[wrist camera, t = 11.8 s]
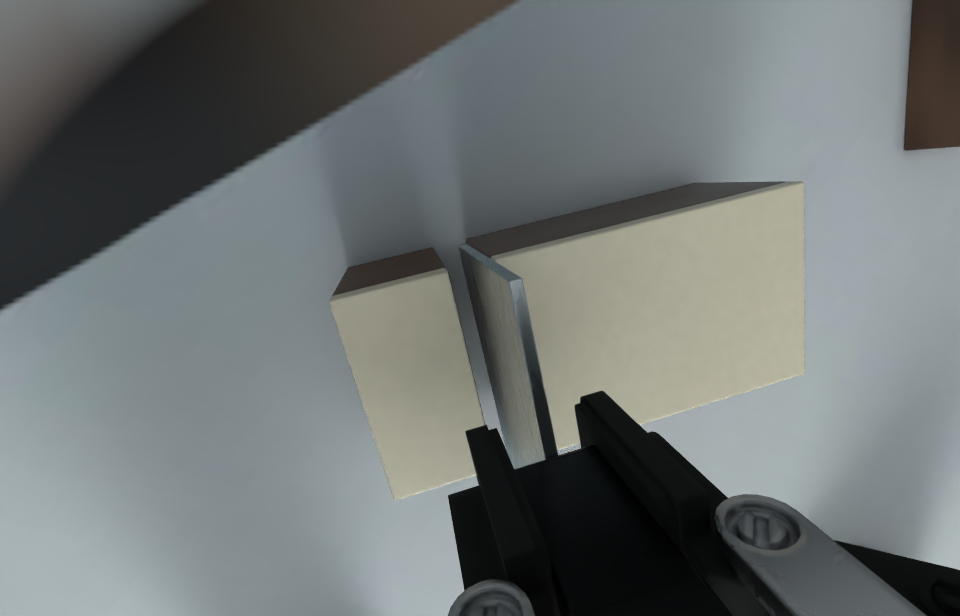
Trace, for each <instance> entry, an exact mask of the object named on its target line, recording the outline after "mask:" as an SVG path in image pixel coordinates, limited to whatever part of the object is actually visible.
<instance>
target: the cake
mask: <svg viewBox="0 0 960 616" xmlns="http://www.w3.org/2000/svg"><path fill="white" fill-rule="evenodd" d="M466 243H467V245H469V246H470V247H472V248H473V249H475V250H477V251H478V252H480V253H482V254H483V255H485V256H487V257H488V258H490V259H492V260H493V261H495V262H497V263H498V264H500V265H501V266H503V267H505V268H506V269H508V270H510V271H511V272H513V273H515V274H516V275H518V276H520V277H521V278H522V279H523V283H524V288H525V293H526V298H527V303H528V308H529V313H530V318H531V323H532V328H533V333H534V338H535V343H536V348H537V353H538V358H539V362H540V367H541V372H542V377H543V382H544V387H545V392H546V397H547V402H548V407H549V412H550V417H551V422H552V427H553V432H554V437H555V442H556V447H557V450H559V449H563V448H566V447H569V446H572V445H576V444H579V443H580V438H579V432H578V426H577V420H576V415H575V404H578V403H580V398H581V396H585V395H588V394H591V393H595V392H598V391H604V392H605V393H606V394H607V395H608V396H609V397H611V398H612V399H613V400H614V401H615V402H616V403H617V404H618V405H619V406H620V407H621V408H622V409H623V410H624V411H625V412H626V413H627V414H628V415H629V416H630V417H631V418H632V419H633V420H634V421H635V422H636V423H638V424H639V425H640V424H644V423H647V422H650V421H653V420H657V419H660V418H663V417H666V416H670V415H673V414H676V413H679V412H683V411H686V410H689V409H692V408H696V407H699V406H702V405H705V404H709V403H712V402H715V401H718V400H721V399H725V398H728V397H731V396H734V395H738V394H741V393H744V392H747V391H751V390H754V389H757V388H760V387H764V386H767V385H770V384H773V383H777V382H780V381H783V380H786V379H790V378H793V377H796V376H799V375H803V374H804V373H805V205H804V182H802V181H798V182H725V183H693V184H689V185H685V186H681V187H677V188H672V189H668V190H664V191H660V192H656V193H652V194H648V195H644V196H640V197H636V198H632V199H628V200H623V201H619V202H615V203H611V204H607V205H603V206H599V207H595V208H591V209H587V210H583V211H579V212H574V213H570V214H566V215H562V216H558V217H554V218H550V219H546V220H542V221H538V222H534V223H530V224H525V225H521V226H517V227H513V228H509V229H505V230H501V231H497V232H493V233H489V234H485V235H481V236H476V237H472V238H468V239H466Z"/></svg>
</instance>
